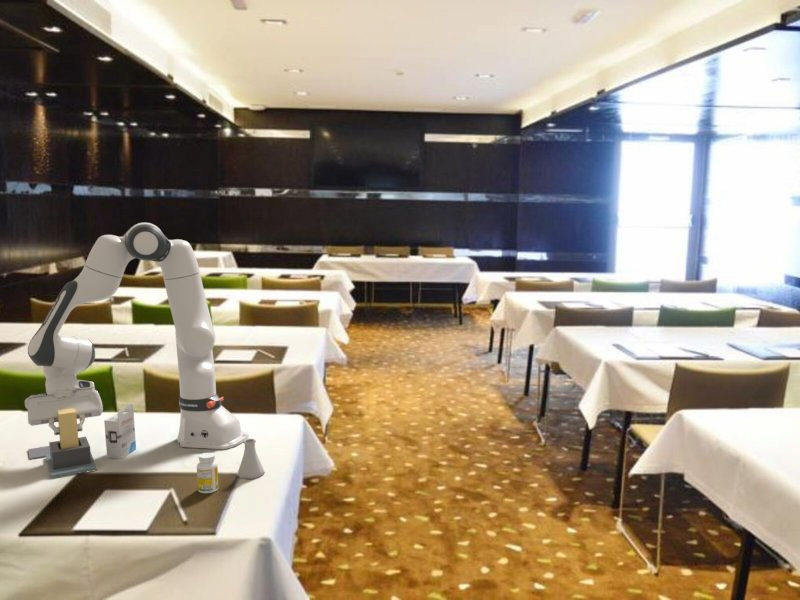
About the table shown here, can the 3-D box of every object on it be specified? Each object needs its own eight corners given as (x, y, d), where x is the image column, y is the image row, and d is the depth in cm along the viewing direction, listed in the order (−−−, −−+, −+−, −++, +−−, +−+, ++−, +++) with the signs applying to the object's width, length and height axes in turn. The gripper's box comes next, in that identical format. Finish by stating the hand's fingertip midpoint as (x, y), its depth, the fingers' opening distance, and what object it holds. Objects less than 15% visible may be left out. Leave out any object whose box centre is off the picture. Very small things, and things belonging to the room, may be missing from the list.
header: (50, 458, 221) (49, 442, 221) (87, 452, 226) (85, 436, 225) (53, 469, 213) (52, 452, 212) (91, 463, 217) (90, 446, 217)
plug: (61, 456, 220) (57, 410, 218) (78, 453, 222) (74, 408, 220) (62, 461, 216) (58, 414, 214) (79, 458, 218) (76, 412, 216)
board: (46, 458, 225) (45, 455, 224) (89, 451, 230) (88, 447, 230) (51, 478, 209) (50, 475, 209) (97, 470, 215) (96, 466, 214)
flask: (251, 481, 206) (250, 446, 204) (232, 476, 209) (230, 442, 208) (269, 473, 212) (268, 438, 210) (250, 468, 215) (249, 434, 214)
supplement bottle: (205, 495, 196) (204, 460, 195) (193, 490, 200) (191, 455, 198) (222, 489, 201) (221, 454, 199) (210, 484, 204) (208, 450, 203)
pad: (28, 450, 231) (28, 449, 231) (60, 445, 236) (60, 444, 236) (29, 459, 224) (29, 458, 223) (62, 454, 228) (62, 452, 228)
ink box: (122, 448, 232) (119, 402, 230) (136, 449, 231) (133, 402, 229) (106, 458, 224) (102, 410, 222) (121, 459, 223) (117, 411, 221)
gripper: (23, 390, 217) (28, 433, 210) (99, 381, 227) (106, 421, 220) (24, 402, 222) (28, 443, 215) (98, 392, 232) (105, 431, 225)
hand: (68, 432), depth 218 cm, fingers closed on plug, 5 cm apart
